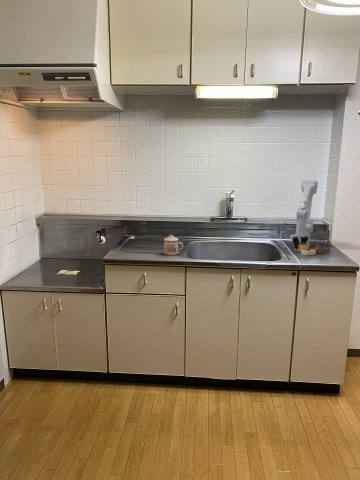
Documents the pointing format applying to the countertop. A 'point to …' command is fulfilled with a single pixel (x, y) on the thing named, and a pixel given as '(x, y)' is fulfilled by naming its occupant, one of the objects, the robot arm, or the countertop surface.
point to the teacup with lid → (171, 245)
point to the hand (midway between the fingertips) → (299, 248)
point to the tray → (318, 248)
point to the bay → (308, 252)
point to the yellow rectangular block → (302, 247)
